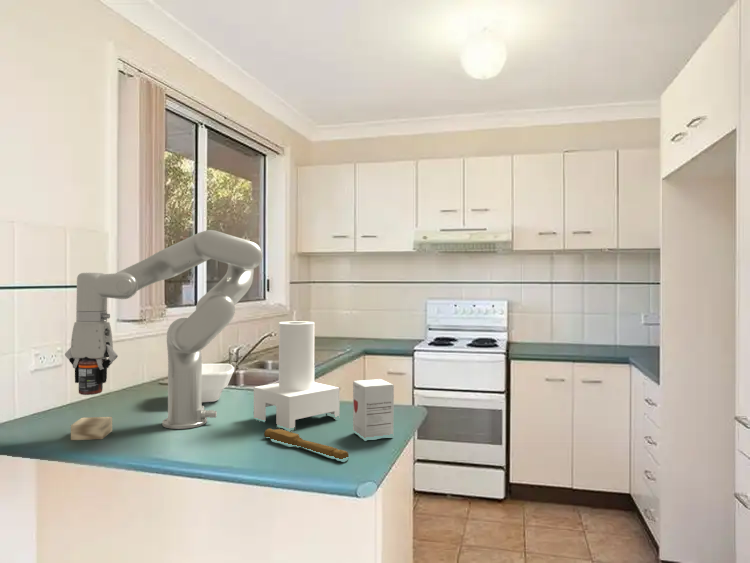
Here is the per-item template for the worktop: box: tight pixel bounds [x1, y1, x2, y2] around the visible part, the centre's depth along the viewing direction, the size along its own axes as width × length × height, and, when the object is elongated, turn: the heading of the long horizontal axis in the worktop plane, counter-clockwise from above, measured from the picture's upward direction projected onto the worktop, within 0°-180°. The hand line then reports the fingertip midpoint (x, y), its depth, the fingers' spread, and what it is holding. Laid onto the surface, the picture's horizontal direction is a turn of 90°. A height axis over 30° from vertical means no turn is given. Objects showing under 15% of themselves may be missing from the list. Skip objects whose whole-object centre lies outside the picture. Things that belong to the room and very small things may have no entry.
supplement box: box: [352, 378, 395, 438], centre depth 153 cm, size 9×9×15 cm
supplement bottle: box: [78, 357, 104, 396], centre depth 152 cm, size 6×6×11 cm
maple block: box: [70, 416, 113, 441], centre depth 152 cm, size 8×8×4 cm
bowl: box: [202, 363, 235, 403], centre depth 194 cm, size 22×22×12 cm
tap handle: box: [263, 428, 350, 459], centre depth 142 cm, size 3×3×30 cm
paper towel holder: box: [253, 320, 341, 429], centre depth 170 cm, size 19×19×30 cm
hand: (90, 382), depth 152 cm, fingers closed on supplement bottle, 5 cm apart
